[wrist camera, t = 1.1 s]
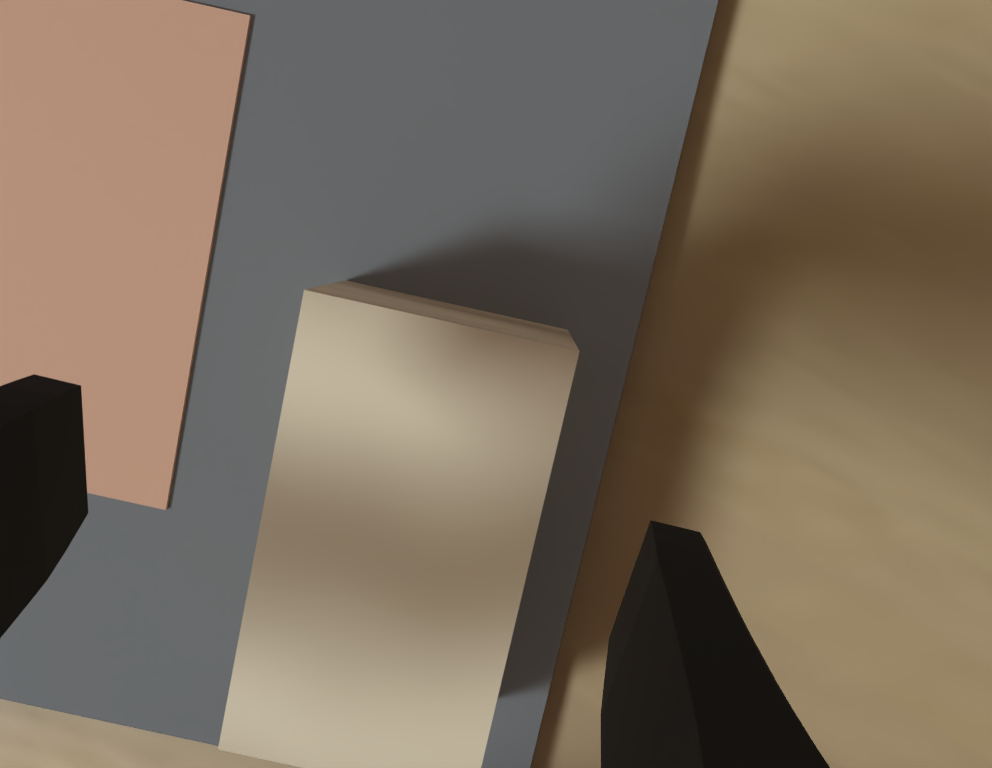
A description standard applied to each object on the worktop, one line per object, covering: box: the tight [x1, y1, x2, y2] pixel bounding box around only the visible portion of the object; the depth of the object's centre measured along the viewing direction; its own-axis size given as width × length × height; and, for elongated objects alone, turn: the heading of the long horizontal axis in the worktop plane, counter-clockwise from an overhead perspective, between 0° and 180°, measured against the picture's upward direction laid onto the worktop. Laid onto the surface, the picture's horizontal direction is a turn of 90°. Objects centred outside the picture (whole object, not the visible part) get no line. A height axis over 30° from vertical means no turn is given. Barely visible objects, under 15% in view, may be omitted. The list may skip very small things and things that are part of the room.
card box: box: [218, 280, 580, 768], centre depth 19 cm, size 9×5×4 cm, turn 168°
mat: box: [0, 0, 718, 768], centre depth 21 cm, size 20×22×1 cm
